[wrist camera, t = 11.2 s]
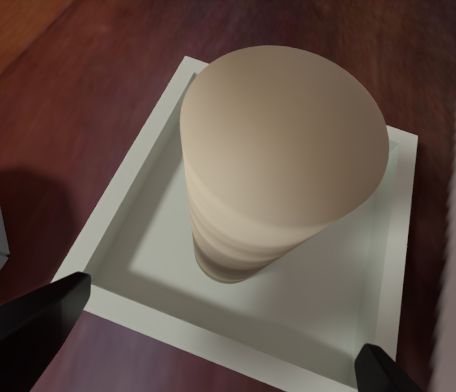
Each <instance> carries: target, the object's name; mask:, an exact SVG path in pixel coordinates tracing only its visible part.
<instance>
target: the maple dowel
mask: <svg viewBox="0 0 456 392" xmlns="http://www.w3.org/2000/svg"><path fill="white" fill-rule="evenodd" d="M180 133H181V142H182V150H183V159H184V168H185V176H186V185H187V193H188V202H189V210H190V219H191V228H192V236H193V245H194V253H195V258H196V261H197V263H198V266H199V267H200V269H201V270H202V271H203V273H204V274H205V275H207V276H208V277H209V278H211V279H212V280H214V281H216V282H219V283H224V284H235V283H239V282H242V281H244V280H246V279H248V278H249V277H251V276H252V275H254V274H255V273H257V272H259V271H260V270H262V269H263V268H265V267H266V266H268V265H269V264H271V263H273V262H274V261H276V260H277V259H279V258H280V257H282V256H283V255H285V254H286V253H288V252H290V251H291V250H293V249H294V248H296V247H297V246H299V245H300V244H302V243H304V242H305V241H307V240H308V239H310V238H311V237H313V236H314V235H316V234H318V233H319V232H321V231H322V230H324V229H325V228H327V227H328V226H330V225H331V224H333V223H335V222H336V221H338V220H339V219H341V218H342V217H344V216H345V215H347V214H349V213H350V212H352V211H353V210H355V209H356V208H357V207H359V206H360V205H361V204H363V203H364V202H365V201H366V200H367V199H368V198H369V197H370V196H371V195H372V194H373V193H374V192H375V190H376V189H377V187H378V186H379V184H380V182H381V180H382V178H383V176H384V174H385V171H386V168H387V164H388V159H389V136H388V132H387V127H386V124H385V121H384V118H383V115H382V113H381V111H380V109H379V107H378V105H377V104H376V102H375V101H374V99H373V98H372V96H371V95H370V94H369V92H368V91H367V90H366V89H365V88H364V86H363V85H362V84H361V83H360V82H359V81H358V80H356V79H355V78H354V77H353V76H352V75H351V74H349V73H348V72H347V71H346V70H344V69H343V68H341V67H340V66H338V65H336V64H335V63H333V62H331V61H329V60H327V59H325V58H323V57H321V56H319V55H316V54H314V53H311V52H307V51H304V50H301V49H296V48H291V47H284V46H255V47H249V48H244V49H240V50H237V51H234V52H231V53H229V54H226V55H224V56H222V57H220V58H218V59H217V60H215V61H213V62H212V63H210V64H209V65H208V66H207V67H205V68H204V69H203V70H202V71H201V72H200V73H199V74H198V75H197V76H196V78H195V79H194V80H193V82H192V83H191V85H190V86H189V88H188V90H187V92H186V94H185V97H184V100H183V103H182V107H181V113H180Z"/></svg>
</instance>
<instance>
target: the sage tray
mask: <svg viewBox="0 0 456 392" xmlns="http://www.w3.org/2000/svg"><path fill="white" fill-rule="evenodd" d="M208 65H209V64H208V63H205V62H202V61H199V60H196V59H193V58H190V57H187V56H185V57H184V59H183V61H182V62H181V64H180V66H179V67H178V69H177V71H176V73H175V74H174V76H173V78H172V79H171V81H170V83H169V84H168V86H167V88H166V89H165V91H164V93H163V94H162V96H161V98H160V99H159V101H158V103H157V105H156V106H155V108H154V110H153V111H152V113H151V115H150V116H149V118H148V120H147V121H146V123H145V125H144V126H143V128H142V130H141V131H140V133H139V135H138V137H137V138H136V140H135V142H134V143H133V145H132V147H131V148H130V150H129V152H128V153H127V155H126V157H125V158H124V160H123V162H122V164H121V165H120V167H119V169H118V170H117V172H116V174H115V175H114V177H113V179H112V180H111V182H110V184H109V185H108V187H107V189H106V190H105V192H104V194H103V196H102V197H101V199H100V201H99V202H98V204H97V206H96V207H95V209H94V211H93V212H92V214H91V216H90V217H89V219H88V221H87V222H86V224H85V226H84V228H83V229H82V231H81V233H80V234H79V236H78V238H77V239H76V241H75V243H74V244H73V246H72V248H71V249H70V251H69V253H68V255H67V256H66V258H65V260H64V261H63V263H62V265H61V266H60V268H59V270H58V271H57V273H56V275H55V276H54V278H53V280H52V281H51V283H52V282H54V281H56V280H59V279H61V278H63V277H65V276H68V275H70V274H72V273H74V272H77V271H80V272H85V273H89V274H90V275H91V294H90V298H89V300H88V302H87V304H86V306H85V308H84V309H83V310H85V311H88V312H90V313H93V314H95V315H98V316H100V317H103V318H105V319H108V320H110V321H113V322H115V323H118V324H120V325H123V326H125V327H128V328H130V329H133V330H135V331H138V332H140V333H143V334H145V335H148V336H150V337H153V338H155V339H158V340H160V341H162V342H165V343H167V344H170V345H172V346H175V347H177V348H180V349H182V350H185V351H187V352H190V353H192V354H195V355H197V356H200V357H202V358H205V359H207V360H210V361H212V362H215V363H217V364H220V365H222V366H225V367H227V368H230V369H232V370H235V371H237V372H240V373H242V374H244V375H247V376H249V377H252V378H254V379H257V380H259V381H262V382H264V383H267V384H269V385H272V386H274V387H277V388H279V389H282V390H284V391H287V392H358V388H357V382H356V376H355V369H354V362H355V359H356V357H357V355H358V354H359V352H360V350H361V348H362V347H363V345H364V344H365V343H371V344H375V345H378V346H380V347H381V348H382V349H383V350H384V351H385V352H386V353H387V354H388V355H389V356H390V357H391V358H392V359H393V360H394V361H395V359H396V349H397V339H398V329H399V319H400V309H401V299H402V289H403V279H404V269H405V259H406V249H407V240H408V230H409V220H410V210H411V200H412V190H413V180H414V170H415V160H416V150H417V140H418V136H416V135H413V134H410V133H407V132H405V131H402V130H399V129H396V128H393V127H390V126H387V125H386V127H387V132H388V136H389V159H388V164H387V168H386V171H385V174H384V176H383V178H382V180H381V182H380V184H379V186H378V187H377V189H376V190H375V192H374V193H373V194H372V195H371V196H370V197H369V198H368V199H367V200H366V201H365V202H364V203H363V204H361V205H360V206H359V207H357V208H356V209H355V210H353V211H352V212H350V213H349V214H347V215H345V216H344V217H342V218H341V219H339V220H338V221H336V222H335V223H333V224H331V225H330V226H328V227H327V228H325V229H324V230H322V231H321V232H319V233H318V234H316V235H314V236H313V237H311V238H310V239H308V240H307V241H305V242H304V243H302V244H300V245H299V246H297V247H296V248H294V249H293V250H291V251H290V252H288V253H286V254H285V255H283V256H282V257H280V258H279V259H277V260H276V261H274V262H273V263H271V264H269V265H268V266H266V267H265V268H263V269H262V270H260V271H259V272H257V273H255V274H254V275H252V276H251V277H249V278H248V279H246V280H244V281H242V282H239V283H235V284H224V283H219V282H216V281H214V280H212V279H211V278H209V277H208V276H207V275H205V274H204V273H203V271H202V270H201V269H200V267H199V266H198V263H197V261H196V258H195V253H194V245H193V236H192V228H191V219H190V210H189V202H188V193H187V185H186V176H185V168H184V159H183V150H182V142H181V133H180V113H181V107H182V103H183V100H184V97H185V94H186V92H187V90H188V88H189V86H190V85H191V83H192V82H193V80H194V79H195V78H196V76H197V75H198V74H199V73H200V72H201V71H202V70H203V69H204V68H205V67H207V66H208Z"/></svg>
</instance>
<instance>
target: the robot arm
mask: <svg viewBox="0 0 456 392" xmlns="http://www.w3.org/2000/svg"><path fill="white" fill-rule="evenodd" d="M90 294H91V275H90V274H89V273H85V272H80V271H77V272H74V273H72V274H70V275H68V276H65V277H63V278H61V279H59V280H56V281H54V282H52V283H50V284H47V285H45V286H43V287H41V288H38V289H36V290H34V291H32V292H29V293H27V294H25V295H23V296H20V297H18V298H16V299H14V300H11V301H9V302H7V303H5V304H2V305H0V392H30V390H31V389H32V387H33V386H34V385H35V383H36V382H37V380H38V379H39V378H40V376H41V375H42V374H43V372H44V371H45V369H46V368H47V367H48V365H49V364H50V362H51V361H52V360H53V358H54V357H55V355H56V354H57V353H58V351H59V350H60V348H61V347H62V345H63V343H64V342H65V340H66V339H67V337H68V335H69V333H70V332H71V330H72V328H73V326H74V325H75V323H76V321H77V320H78V318H79V316H80V314H81V313H82V311H83V309H84V308H85V306H86V304H87V302H88V300H89V298H90ZM354 369H355V376H356V382H357V388H358V392H424V391H423V390H422V389H421V388H420V387H419V386H418V385H417V384H416V383H415V382H414V381H413V380H412V379H411V378H410V377H409V376H408V375H407V374H406V372H405V371H404V370H403V369H402V368H401V367H400V366H399V365H398V364H397V363H396V362H395V361H394V360H393V359H392V358H391V357H390V356H389V355H388V354H387V353H386V352H385V351H384V350H383V349H382V348H381V347H380V346H378V345H375V344H371V343H365V344H364V345H363V347H362V348H361V350H360V352H359V354H358V355H357V357H356V359H355V362H354Z"/></svg>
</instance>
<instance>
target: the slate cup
mask: <svg viewBox="0 0 456 392" xmlns="http://www.w3.org/2000/svg"><path fill="white" fill-rule="evenodd" d="M9 254H10V252H9V247H8V242H7V237H6V232H5V227H4V222H3V217H2V212H1V207H0V270H1V269H2V267H3V266H4V264H5V263H6V261H7V260H8V258H9V257H6V255H9Z"/></svg>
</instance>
